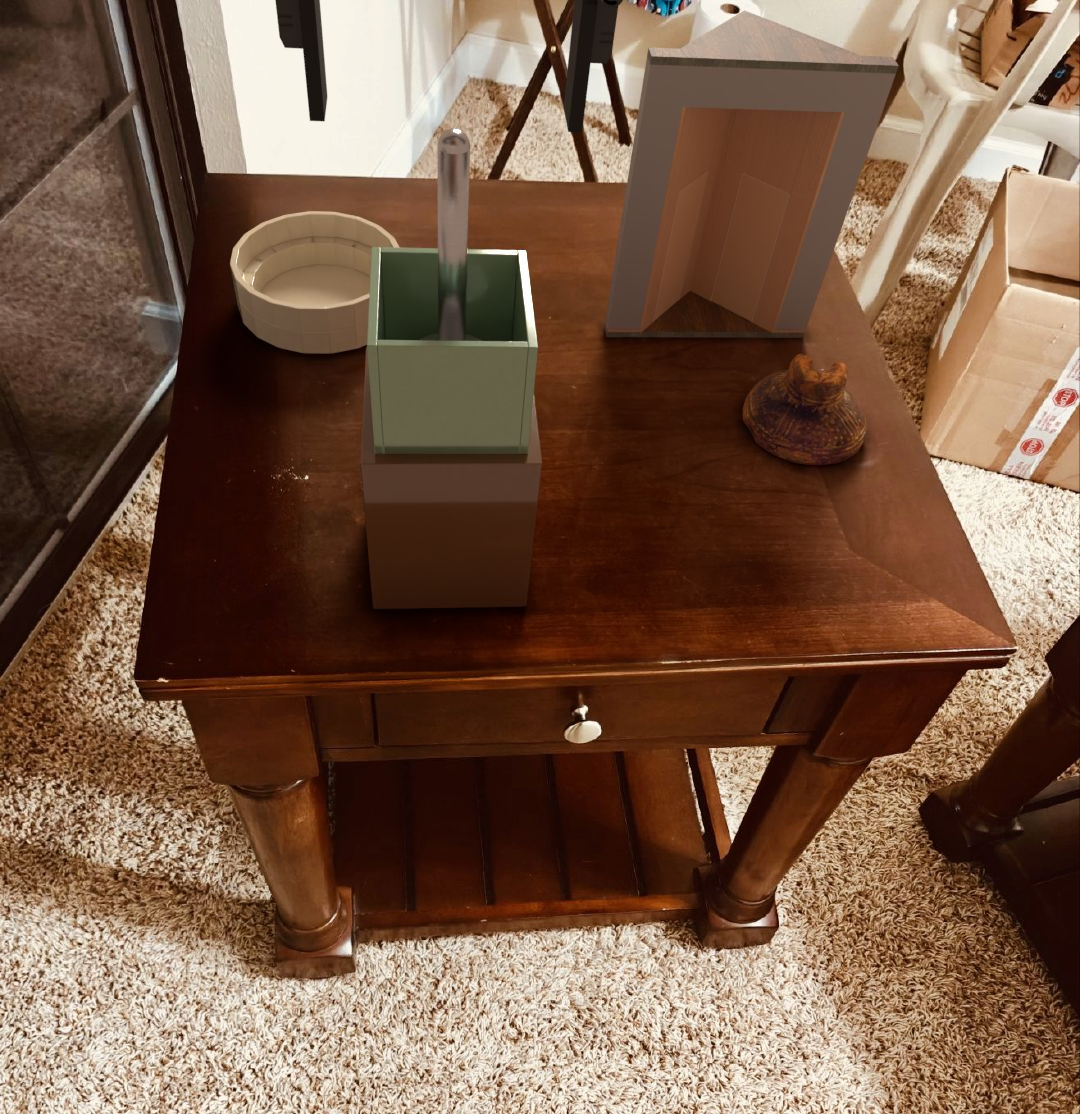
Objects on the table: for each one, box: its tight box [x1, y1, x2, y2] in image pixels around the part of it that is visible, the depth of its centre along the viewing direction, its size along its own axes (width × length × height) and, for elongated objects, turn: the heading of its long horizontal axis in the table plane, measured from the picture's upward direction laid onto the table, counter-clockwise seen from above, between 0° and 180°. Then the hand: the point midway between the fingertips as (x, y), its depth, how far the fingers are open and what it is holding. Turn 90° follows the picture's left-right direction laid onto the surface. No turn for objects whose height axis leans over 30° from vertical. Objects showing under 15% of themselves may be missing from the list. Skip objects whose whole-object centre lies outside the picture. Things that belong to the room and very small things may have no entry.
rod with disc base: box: [420, 127, 482, 341], centre depth 61 cm, size 6×6×19 cm
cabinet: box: [603, 10, 900, 339], centre depth 95 cm, size 21×10×28 cm, turn 95°
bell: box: [742, 353, 868, 466], centre depth 92 cm, size 12×12×7 cm
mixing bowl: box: [229, 210, 401, 355], centre depth 98 cm, size 16×16×6 cm
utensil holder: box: [360, 247, 543, 610], centre depth 72 cm, size 12×12×25 cm
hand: (447, 115), depth 53 cm, fingers open, 13 cm apart
